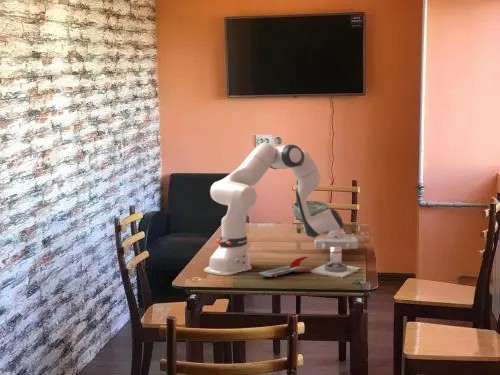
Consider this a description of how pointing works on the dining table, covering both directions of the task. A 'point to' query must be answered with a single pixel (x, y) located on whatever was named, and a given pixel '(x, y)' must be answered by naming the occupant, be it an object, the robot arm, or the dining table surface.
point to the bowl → (310, 209)
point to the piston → (335, 256)
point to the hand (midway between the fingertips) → (335, 247)
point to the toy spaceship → (287, 268)
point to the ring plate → (336, 274)
